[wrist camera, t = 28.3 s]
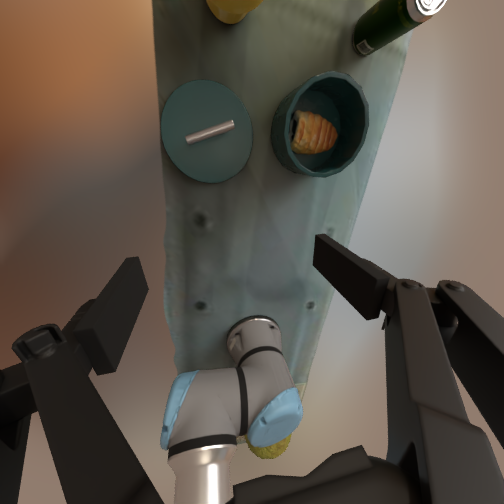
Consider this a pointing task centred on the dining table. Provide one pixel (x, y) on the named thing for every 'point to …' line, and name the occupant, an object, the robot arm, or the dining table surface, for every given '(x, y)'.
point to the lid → (206, 131)
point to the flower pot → (232, 9)
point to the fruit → (270, 448)
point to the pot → (333, 110)
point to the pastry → (311, 133)
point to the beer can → (390, 22)
